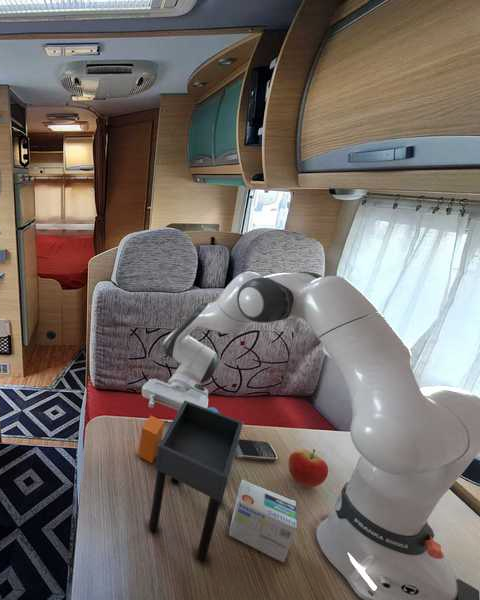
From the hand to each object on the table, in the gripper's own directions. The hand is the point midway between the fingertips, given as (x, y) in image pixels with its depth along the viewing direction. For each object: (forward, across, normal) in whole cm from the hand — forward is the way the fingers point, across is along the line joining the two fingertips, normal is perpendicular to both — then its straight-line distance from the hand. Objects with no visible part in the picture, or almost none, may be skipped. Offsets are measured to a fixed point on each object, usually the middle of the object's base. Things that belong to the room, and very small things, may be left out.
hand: (165, 412), depth 97 cm
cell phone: (-6, +24, +7) cm, 26 cm away
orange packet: (+10, 0, +7) cm, 13 cm away
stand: (+22, +14, +7) cm, 27 cm away
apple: (-4, +36, +7) cm, 37 cm away
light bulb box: (+18, +28, +7) cm, 34 cm away
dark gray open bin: (+22, +14, -11) cm, 29 cm away
